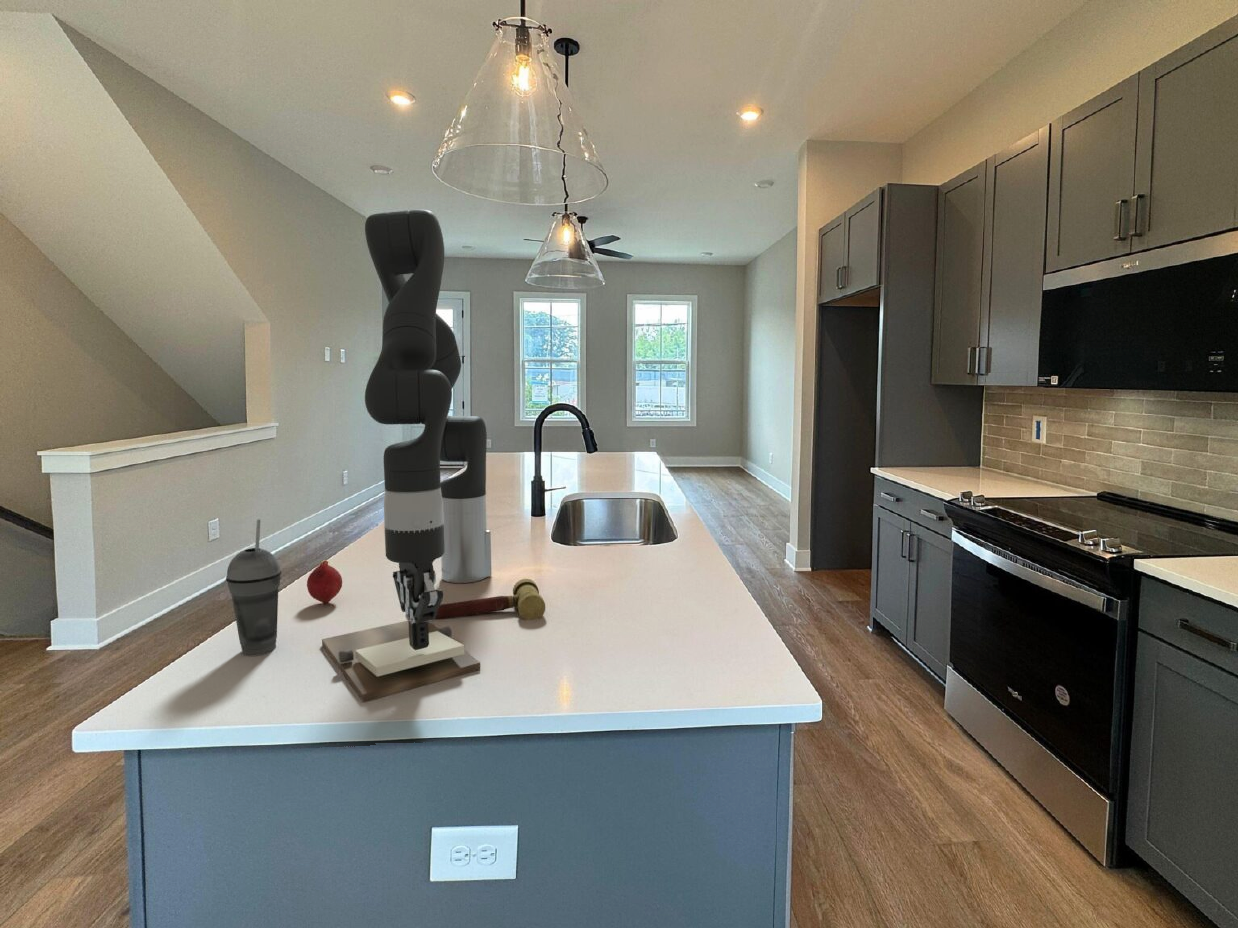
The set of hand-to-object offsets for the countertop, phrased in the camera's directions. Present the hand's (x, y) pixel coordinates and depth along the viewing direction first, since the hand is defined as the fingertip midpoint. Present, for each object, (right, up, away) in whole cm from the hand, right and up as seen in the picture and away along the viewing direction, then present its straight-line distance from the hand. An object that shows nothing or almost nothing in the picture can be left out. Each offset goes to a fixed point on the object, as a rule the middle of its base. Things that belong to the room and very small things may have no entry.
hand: (419, 646), depth 89 cm
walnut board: (-5, -4, +8) cm, 10 cm away
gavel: (+3, -2, +26) cm, 26 cm away
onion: (-26, -1, +30) cm, 40 cm away
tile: (-2, -1, +3) cm, 4 cm away
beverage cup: (-27, -3, +10) cm, 29 cm away
